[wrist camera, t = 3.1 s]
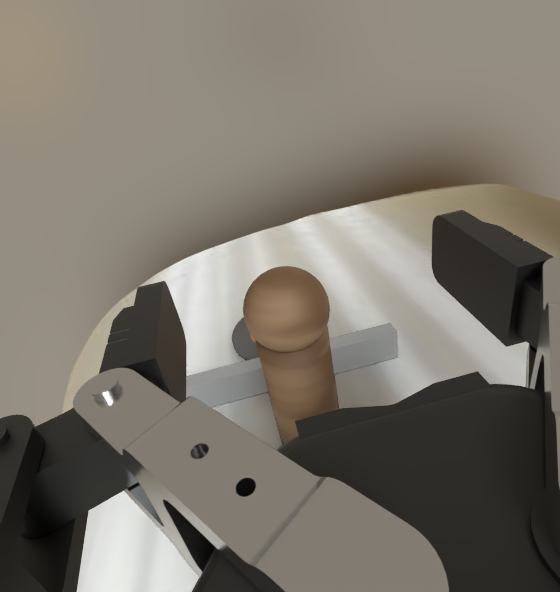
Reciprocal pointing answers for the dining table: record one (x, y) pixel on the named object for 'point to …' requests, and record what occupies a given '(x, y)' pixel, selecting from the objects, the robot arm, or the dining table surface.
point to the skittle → (292, 344)
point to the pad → (244, 341)
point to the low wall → (250, 377)
